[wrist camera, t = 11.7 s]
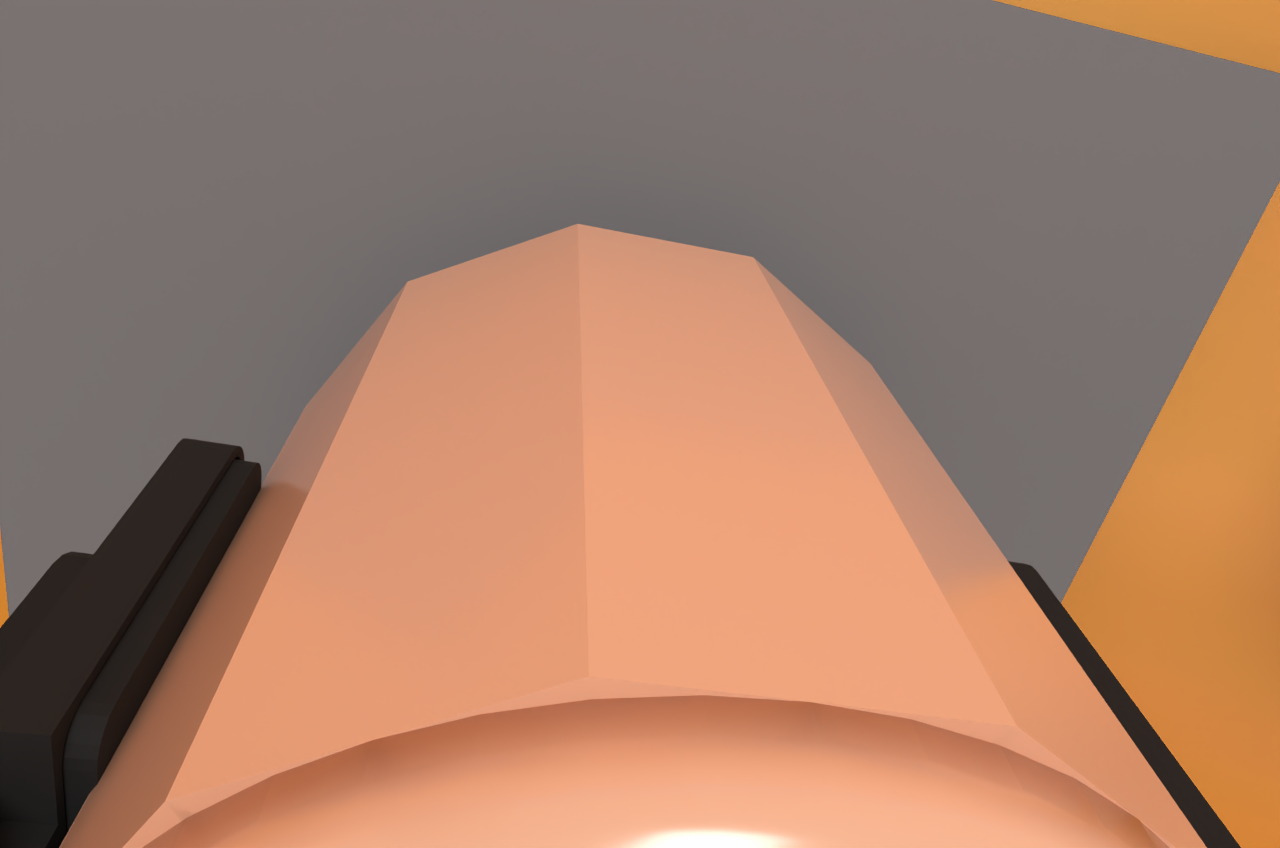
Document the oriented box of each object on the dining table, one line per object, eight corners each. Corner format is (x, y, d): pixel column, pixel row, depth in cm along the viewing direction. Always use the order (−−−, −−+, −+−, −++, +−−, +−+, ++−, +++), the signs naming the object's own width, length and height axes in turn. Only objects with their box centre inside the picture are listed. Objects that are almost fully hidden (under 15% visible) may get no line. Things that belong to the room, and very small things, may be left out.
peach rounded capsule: (320, 174, 10) (-278, 754, 3) (977, 299, 11) (1673, 930, 4) (288, 704, 13) (-28, 1569, 6) (797, 758, 15) (1012, 1540, 7)
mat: (-33, -257, 10) (-79, -270, 9) (1285, 77, 12) (1329, 86, 12) (46, 724, 16) (23, 761, 15) (920, 811, 19) (934, 846, 18)
